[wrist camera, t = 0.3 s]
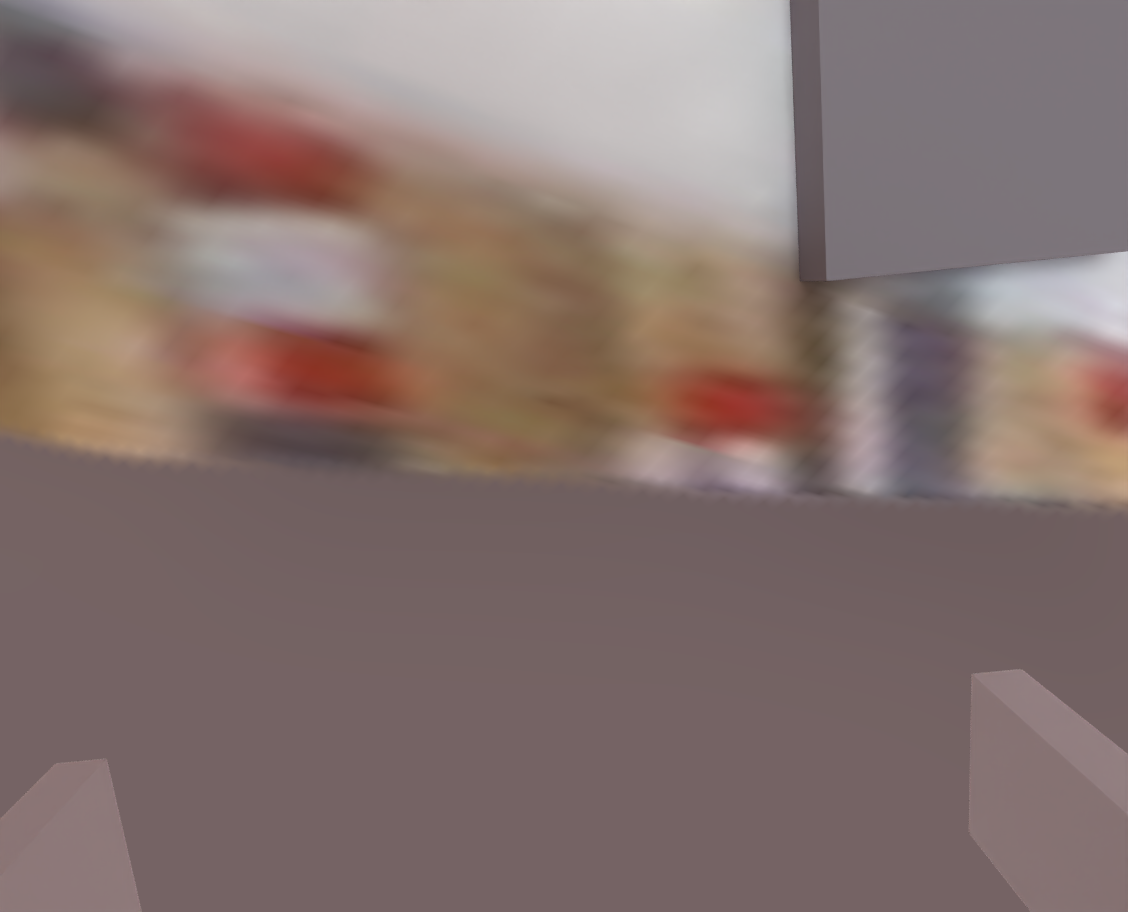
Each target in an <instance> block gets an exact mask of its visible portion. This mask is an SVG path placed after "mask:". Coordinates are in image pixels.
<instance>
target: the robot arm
mask: <svg viewBox="0 0 1128 912" xmlns="http://www.w3.org/2000/svg"><path fill="white" fill-rule="evenodd" d="M971 684H972V685H971V687H972V688H971V743H970V800H969V802H970V803H969V834H970V835H971V836H972V837H973V839H974V840H975V841H976V843H977V844H978V845H979V846H980V848H981V849H982V850H983V851H984V853H985V854H986V855H987V856H988V858H989V859H990V860H991V862H992V863H993V864H994V866H995V867H996V868H997V869H998V870H999V871H1000V873H1001V874H1002V876H1003V877H1004V878H1005V880H1006V881H1007V882H1008V883H1009V885H1010V886H1011V887H1012V888H1013V890H1014V891H1015V892H1016V894H1017V895H1018V896H1019V897H1020V899H1021V900H1022V901H1023V903H1024V904H1025V905H1026V906H1027V908H1028V909H1029V910H1030V911H1031V912H1128V754H1127V753H1126V752H1125V751H1123V750H1122V749H1121V748H1119V747H1118V746H1117V745H1116V744H1114V743H1113V742H1112V741H1111V740H1110V739H1108V738H1107V737H1106V736H1104V735H1103V734H1102V733H1101V732H1100V731H1098V730H1097V729H1096V728H1095V727H1093V726H1092V725H1091V724H1090V723H1088V722H1087V721H1086V720H1085V719H1083V718H1082V717H1081V716H1080V715H1078V714H1077V713H1076V712H1074V711H1073V710H1072V709H1071V708H1070V707H1068V706H1067V705H1066V704H1065V703H1063V702H1062V701H1060V700H1059V699H1058V698H1057V697H1056V696H1054V695H1053V694H1052V693H1051V692H1049V691H1048V690H1047V689H1046V688H1044V687H1043V686H1042V685H1041V684H1039V683H1038V682H1037V681H1036V680H1034V679H1033V678H1032V677H1031V676H1029V675H1028V674H1027V673H1026V672H1024V671H1023V670H1022V669H1017V670H1007V671H997V672H986V673H977V674H972V682H971ZM0 912H142V911H141V907H140V902H139V898H138V893H137V889H136V885H135V880H134V876H133V872H132V867H131V863H130V859H129V854H128V850H127V846H126V841H125V837H124V833H123V828H122V824H121V819H120V815H119V811H118V806H117V802H116V798H115V793H114V789H113V784H112V780H111V776H110V771H109V767H108V763H107V759H98V760H88V761H77V762H67V763H58V764H55V765H54V766H53V767H52V768H51V769H50V770H49V771H48V772H47V773H46V774H45V775H44V776H43V777H42V778H41V779H40V780H39V781H38V782H37V783H36V784H35V785H34V786H33V787H32V788H31V789H30V790H29V791H28V792H27V793H26V794H25V795H24V796H23V797H22V798H21V799H20V800H19V801H18V802H17V803H16V804H15V805H14V806H13V807H12V808H11V809H10V810H9V811H8V812H7V813H6V814H5V815H4V816H3V817H2V818H0Z"/></svg>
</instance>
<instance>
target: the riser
mask: <svg viewBox="0 0 1128 912" xmlns="http://www.w3.org/2000/svg"><path fill="white" fill-rule="evenodd" d="M790 19H791V47H792V76H793V104H794V132H795V160H796V188H797V216H798V244H799V272H800V281H832V280H842V279H852V278H862V277H872V276H883V275H893V274H903V273H913V272H923V271H933V270H943V269H953V268H963V267H973V266H983V265H993V264H1003V263H1013V262H1023V261H1033V260H1043V259H1054V258H1064V257H1074V256H1084V255H1094V254H1104V253H1114V252H1124V251H1128V0H790Z"/></svg>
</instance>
